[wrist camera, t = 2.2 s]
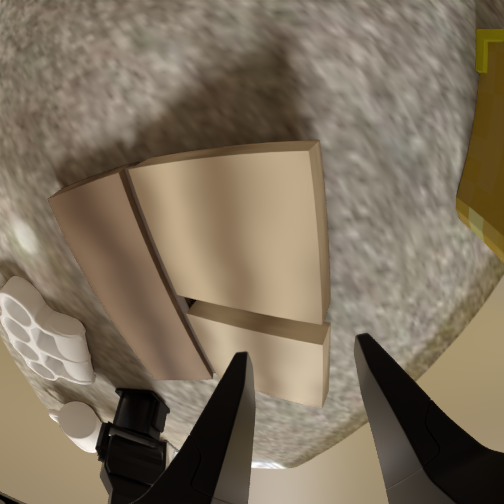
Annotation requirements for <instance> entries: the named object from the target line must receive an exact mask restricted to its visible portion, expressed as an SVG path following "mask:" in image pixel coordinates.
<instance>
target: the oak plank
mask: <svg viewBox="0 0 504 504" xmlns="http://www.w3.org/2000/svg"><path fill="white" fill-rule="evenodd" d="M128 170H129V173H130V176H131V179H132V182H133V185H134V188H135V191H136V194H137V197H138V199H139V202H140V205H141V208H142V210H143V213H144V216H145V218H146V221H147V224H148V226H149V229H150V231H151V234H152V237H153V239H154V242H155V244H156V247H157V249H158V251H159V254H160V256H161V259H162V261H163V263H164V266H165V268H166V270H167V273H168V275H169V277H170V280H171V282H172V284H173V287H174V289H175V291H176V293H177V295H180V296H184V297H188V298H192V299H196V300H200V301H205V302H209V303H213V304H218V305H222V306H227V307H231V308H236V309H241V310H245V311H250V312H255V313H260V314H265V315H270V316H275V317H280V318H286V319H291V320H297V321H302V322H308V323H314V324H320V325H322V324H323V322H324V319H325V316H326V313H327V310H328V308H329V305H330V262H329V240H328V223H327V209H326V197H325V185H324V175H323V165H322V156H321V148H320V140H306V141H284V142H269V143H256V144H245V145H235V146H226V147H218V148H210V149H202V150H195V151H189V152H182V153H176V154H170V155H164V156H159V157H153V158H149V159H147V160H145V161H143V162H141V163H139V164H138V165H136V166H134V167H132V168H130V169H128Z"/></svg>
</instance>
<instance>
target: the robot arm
mask: <svg viewBox="0 0 504 504" xmlns="http://www.w3.org/2000/svg"><path fill="white" fill-rule="evenodd" d="M354 356H355V362H356V367H357V373H358V379H359V384H360V390H361V395H362V399H363V402H364V406H365V409H366V412H367V416H368V420H369V423H370V427H371V430H372V434H373V438H374V441H375V446H376V450H377V454H378V458H379V461H380V466H381V470H382V474H383V478H384V482H385V487H386V492H387V497H388V502H389V504H504V453H502V452H498V451H494V450H491V449H488V448H487V447H485V446H483V445H481V444H480V443H479V442H478V441H476V440H475V439H474V438H473V437H471V436H470V435H469V434H468V433H467V432H466V431H464V430H463V429H462V428H461V427H460V426H458V425H457V424H456V423H455V422H454V421H453V420H451V419H450V418H449V417H448V416H447V415H446V414H445V413H444V412H443V411H442V410H441V409H440V408H439V407H438V406H437V405H436V404H435V403H434V401H433V400H431V399H430V397H429V396H428V395H427V394H426V393H425V392H424V391H423V390H422V389H421V388H420V387H419V386H418V384H417V383H416V382H415V381H414V380H413V379H412V378H411V377H410V376H409V375H408V374H407V373H406V372H405V371H404V370H403V369H402V368H401V367H400V366H399V365H398V363H397V362H396V361H395V360H394V359H393V358H392V357H391V356H390V355H389V354H388V353H387V352H386V351H385V350H384V349H383V348H382V347H381V346H380V345H379V344H378V343H377V342H376V341H375V340H374V339H373V338H372V337H371V336H370V335H369V334H368V333H363V334H358V335H356V337H355V345H354ZM115 392H116V393H117V394H118V395H119V396H120V400H119V403H118V407H117V410H116V414H115V417H114V421H113V424H112V423H111V422H109V421H108V423H103V422H102V425H101V428H100V432H99V435H98V439H97V443H96V447H95V450H96V451H97V453H98V461H101V462H102V467H101V472H100V478H101V480H102V482H103V484H104V486H105V488H106V490H107V492H108V494H109V499H108V504H248V497H249V485H250V474H251V462H252V450H253V438H254V425H255V410H256V406H255V388H254V371H253V364H252V361H251V359H250V356H249V353H248V352H247V351H243V352H236V353H235V355H234V356H233V358H232V360H231V362H230V364H229V365H228V367H227V369H226V371H225V373H224V374H223V376H222V378H221V380H220V382H219V383H218V385H217V387H216V389H215V391H214V392H213V394H212V396H211V398H210V399H209V401H208V403H207V405H206V406H205V408H204V410H203V412H202V413H201V415H200V417H199V419H198V420H197V422H196V424H195V426H194V427H193V429H192V431H191V432H190V435H191V436H190V435H189V436H188V437H187V439H186V441H185V442H184V444H183V446H182V447H181V449H180V450H179V452H178V453H177V455H176V456H175V458H174V459H173V460H172V462H171V463H170V464H169V466H168V467H167V468H166V452H167V442H165V441H160V440H159V438H160V432H161V433H162V432H163V431H164V426H165V421H166V415H167V414H168V413H170V410H169V409H168V408H167V407H166V406H165V405H164V403H163V402H162V401H161V400H160V399H159V398H158V397H157V396H156V395H155V394H154V393H153V392H152V391H143V390H127V389H116V390H115ZM109 434H110V435H111V436H109ZM0 504H26V503H23V502H21V501H19V500H17V499H15V498H12V497H10V496H8V495H6V494H4V493H2V492H0Z"/></svg>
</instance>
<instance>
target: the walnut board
mask: <svg viewBox="0 0 504 504" xmlns="http://www.w3.org/2000/svg"><path fill="white" fill-rule="evenodd" d="M138 164H139V162H137V163H134V164H128V165H125V166H122V167H119V168H116V169H113V170H110V171H107V172H104V173H101V174H98V175H96V176H93V177H90V178H88V179H85V180H82V181H80V182H77V183H75V184H72V185H70V186H67V187H65V188H62V189H61V190H59V191H58V192H56V193H55V194H54V195H52V196H51V197H50V198H48V201H49V204H50V206H51V208H52V211H53V213H54V215H55V217H56V220H57V222H58V224H59V226H60V229H61V231H62V233H63V235H64V237H65V239H66V241H67V243H68V245H69V247H70V249H71V251H72V253H73V255H74V257H75V259H76V261H77V263H78V265H79V266H80V268H81V270H82V272H83V274H84V275H85V277H86V279H87V281H88V283H89V284H90V286H91V288H92V289H93V291H94V293H95V294H96V296H97V298H98V299H99V301H100V303H101V304H102V306H103V308H104V309H105V311H106V312H107V314H108V315H109V317H110V318H111V320H112V321H113V323H114V325H115V326H116V328H117V329H118V330H119V332H120V333H121V335H122V336H123V338H124V339H125V341H126V342H127V343H128V345H129V346H130V348H131V349H132V350H133V352H134V353H135V354H136V356H137V357H138V358H139V360H140V361H141V362H142V364H143V365H144V366H145V368H146V369H147V370H148V371H149V373H150V374H151V375H152V377H153V378H154V379H155V380H209V379H213V373H216V372H215V370H214V369H213V367H212V365H211V363H210V361H209V359H208V357H207V355H206V353H205V351H204V349H203V347H202V345H201V343H200V341H199V339H198V337H197V335H196V333H195V331H194V329H193V327H192V325H191V323H190V321H189V319H188V317H187V315H186V313H187V311H188V310H189V309H190V308H191V306H192V303H191V301H190V299H189V298H188V297H184V296H180V295H177V293H176V291H175V289H174V287H173V284H172V282H171V280H170V277H169V275H168V273H167V270H166V268H165V266H164V263H163V261H162V259H161V256H160V254H159V251H158V249H157V247H156V244H155V242H154V239H153V237H152V234H151V231H150V229H149V226H148V224H147V221H146V218H145V216H144V213H143V210H142V208H141V205H140V202H139V199H138V197H137V194H136V191H135V188H134V185H133V182H132V179H131V176H130V173H129V170H128V169H130V168H132V167H134V166H136V165H138Z"/></svg>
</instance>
